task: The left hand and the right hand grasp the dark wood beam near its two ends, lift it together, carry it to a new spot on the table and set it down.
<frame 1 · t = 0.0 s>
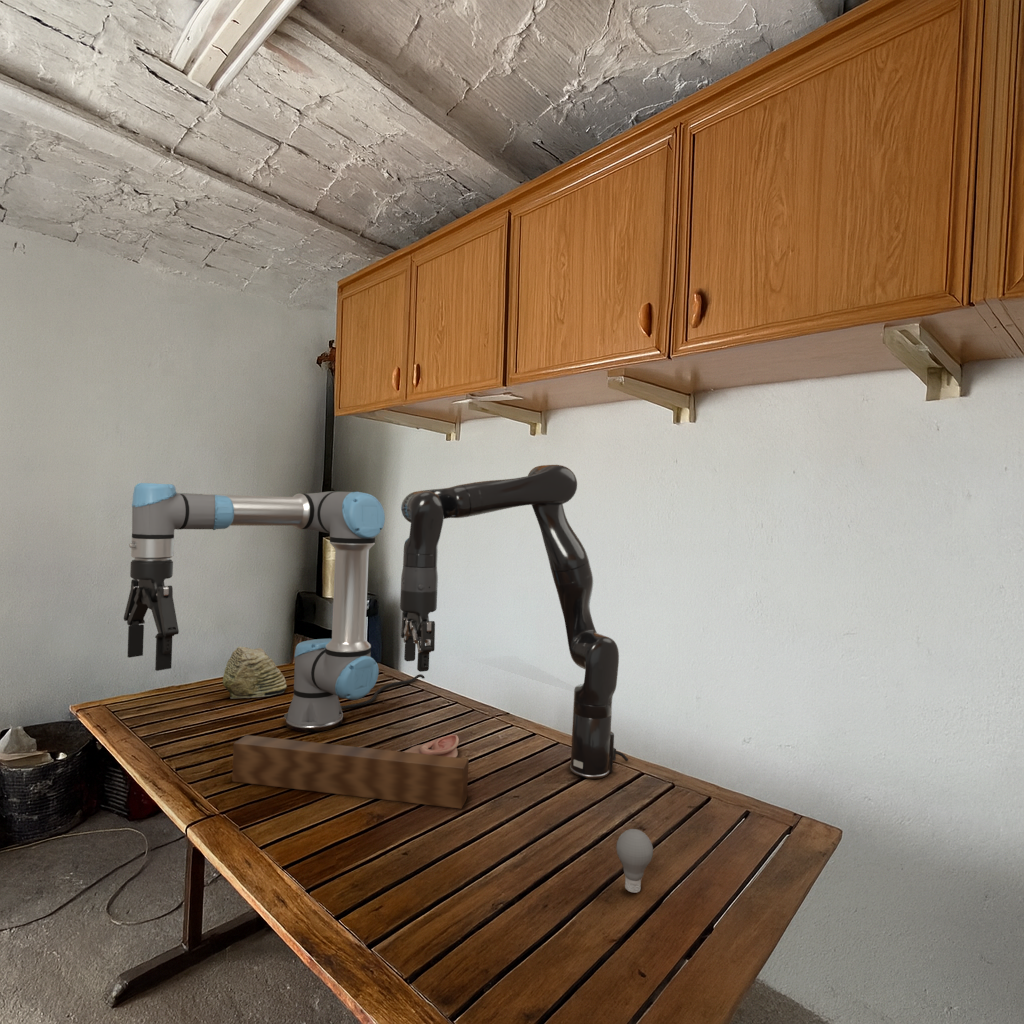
left hand: (148, 662, 129), 28 cm above the table, tool pointing down, fingers open, 13 cm apart
right hand: (416, 665, 131), 29 cm above the table, tool pointing down, fingers open, 8 cm apart
anatomical model: (430, 755, 158), on the table
light bulb: (632, 891, 106), on the table
beam: (348, 789, 138), on the table
fossil: (254, 694, 198), on the table
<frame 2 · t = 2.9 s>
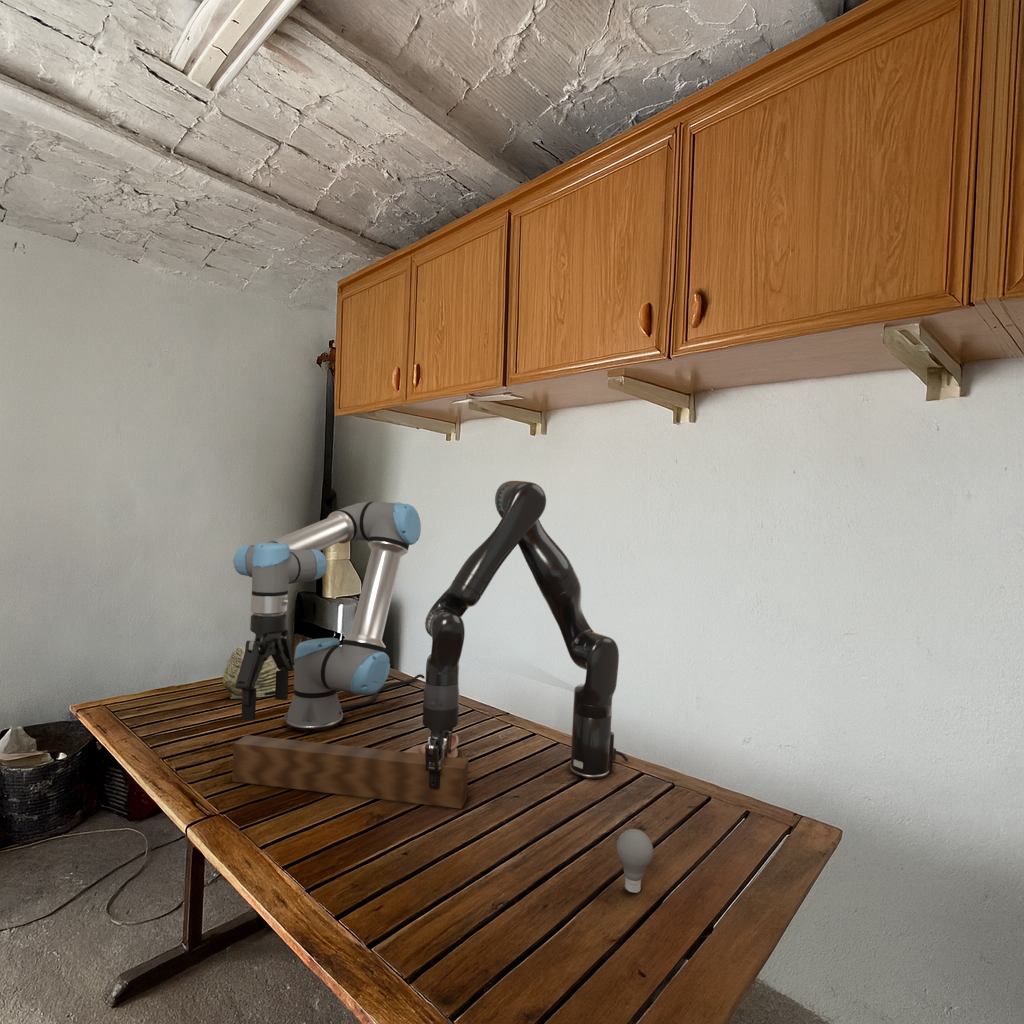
left hand: (265, 708, 140), 16 cm above the table, tool pointing down, fingers open, 13 cm apart
right hand: (437, 781, 135), 4 cm above the table, tool pointing down, fingers closed on beam, 5 cm apart
beam: (348, 789, 138), on the table, touching right hand
everything else where it was.
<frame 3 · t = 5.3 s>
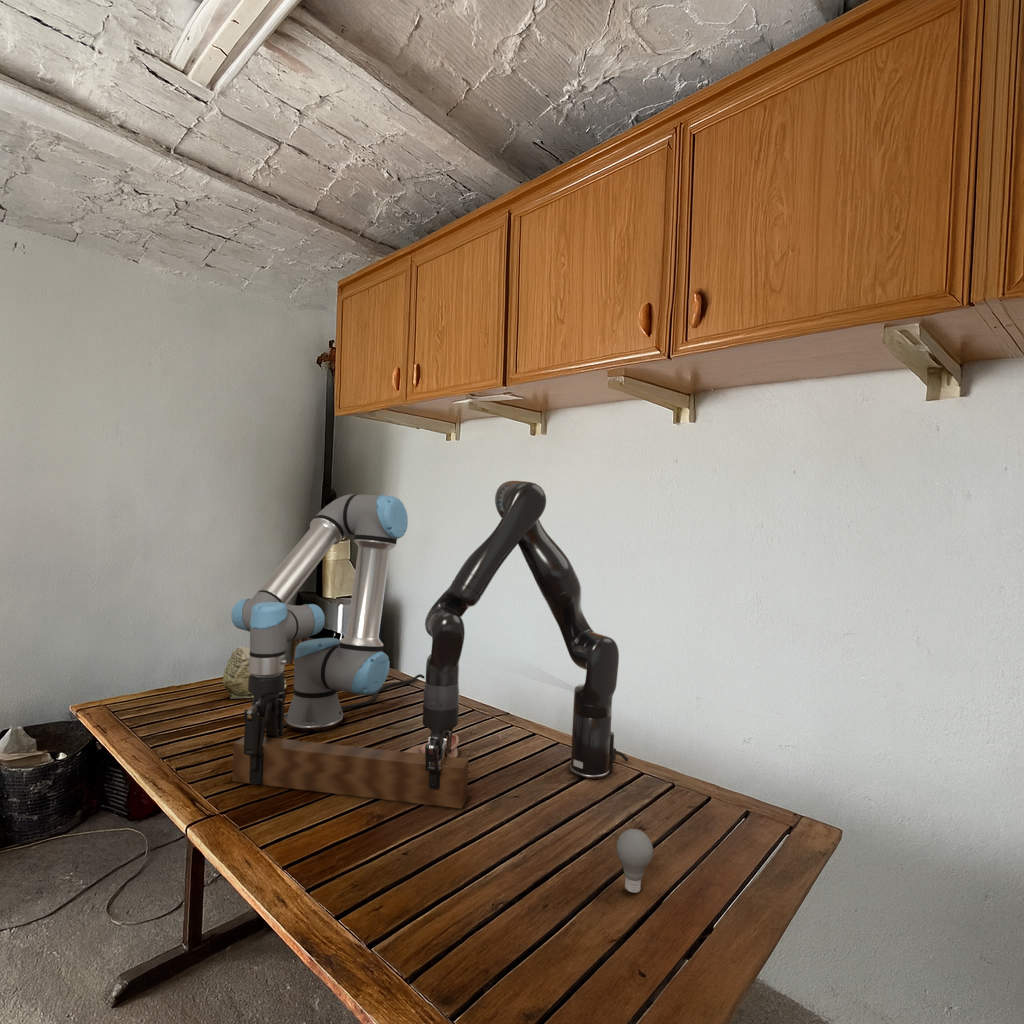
left hand: (263, 777, 141), 1 cm above the table, tool pointing down, fingers closed on beam, 5 cm apart
right hand: (437, 781, 135), 4 cm above the table, tool pointing down, fingers closed on beam, 5 cm apart
beam: (348, 789, 138), on the table, touching left hand, right hand
everything else where it was.
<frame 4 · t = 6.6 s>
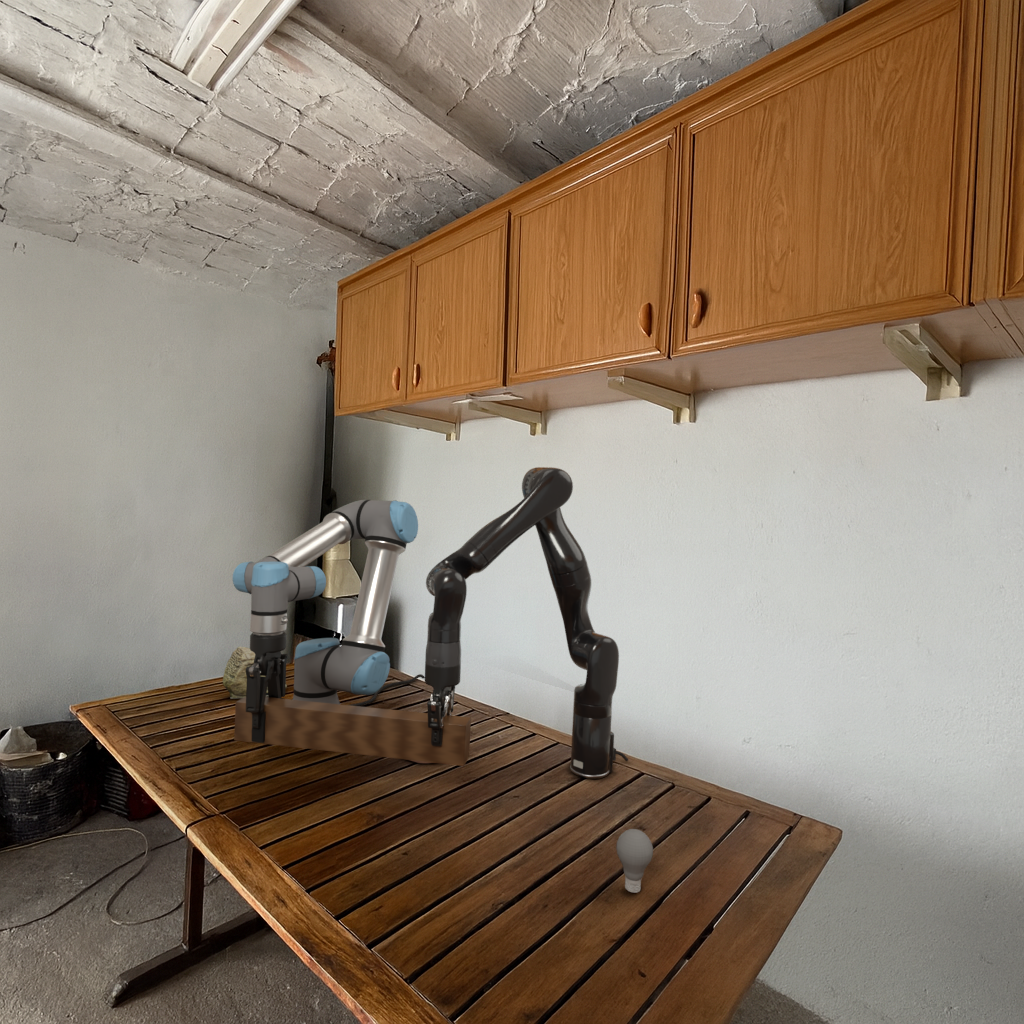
left hand: (265, 736, 140), 10 cm above the table, tool pointing down, fingers closed on beam, 5 cm apart
right hand: (440, 739, 134), 13 cm above the table, tool pointing down, fingers closed on beam, 5 cm apart
beam: (350, 748, 137), point 9 cm above the table, touching left hand, right hand
everything else where it was.
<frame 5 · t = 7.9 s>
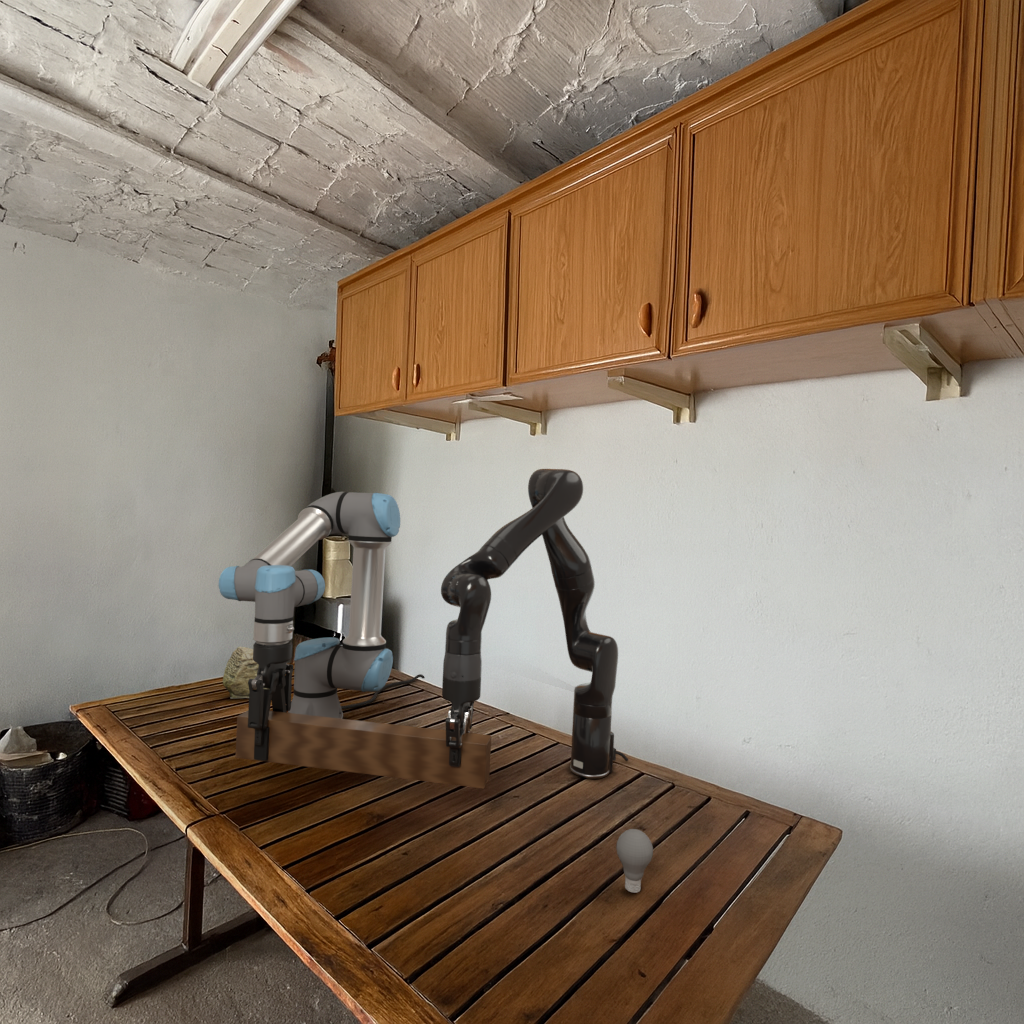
left hand: (268, 753, 130), 10 cm above the table, tool pointing down, fingers closed on beam, 5 cm apart
right hand: (458, 759, 124), 13 cm above the table, tool pointing down, fingers closed on beam, 5 cm apart
beam: (360, 767, 127), point 9 cm above the table, touching left hand, right hand
everything else where it was.
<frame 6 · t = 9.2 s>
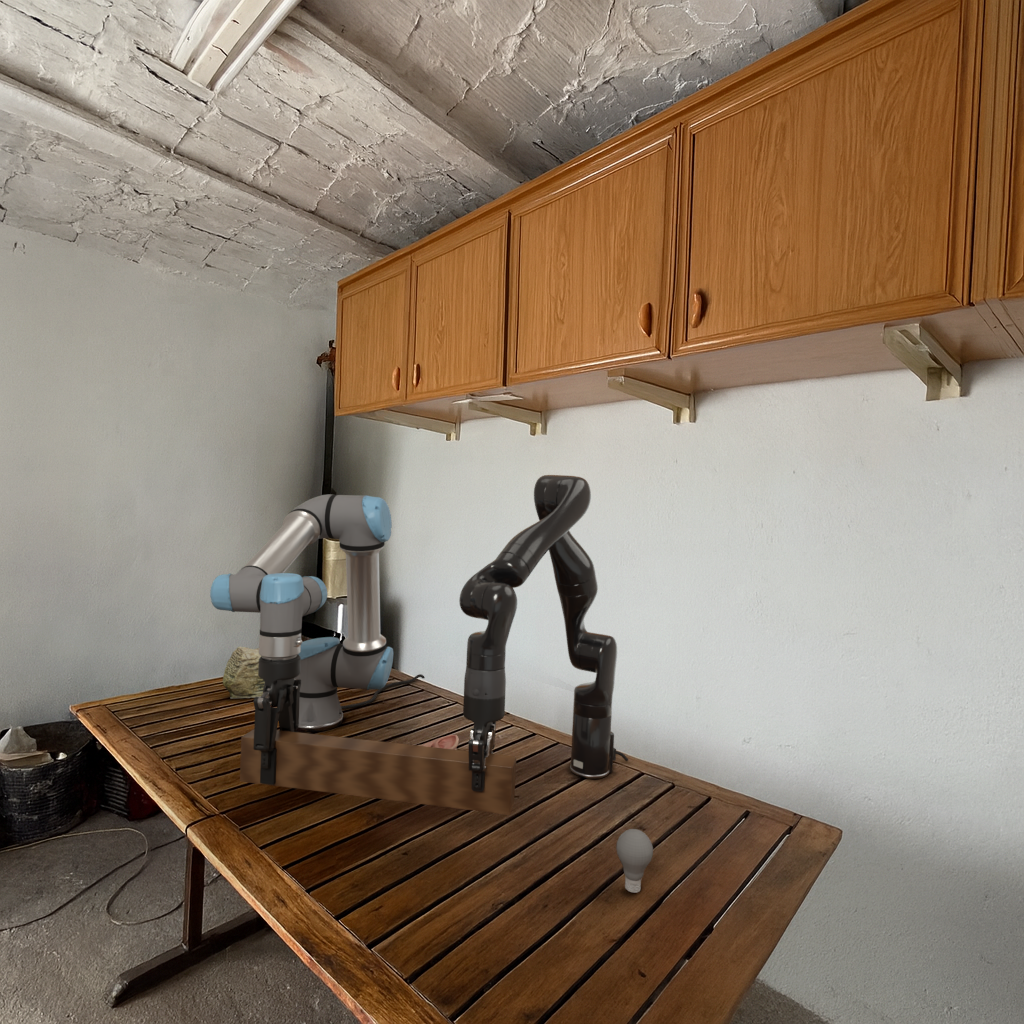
left hand: (275, 776, 121), 10 cm above the table, tool pointing down, fingers closed on beam, 5 cm apart
right hand: (481, 783, 115), 13 cm above the table, tool pointing down, fingers closed on beam, 5 cm apart
beam: (375, 791, 118), point 9 cm above the table, touching left hand, right hand
everything else where it was.
when the left hand's fingers open (2 cm above the table, at t = 10.4 s): beam stays where it is, on the table.
when the right hand's fingers open (5 cm above the table, at t = 10.6 s): beam stays where it is, on the table.
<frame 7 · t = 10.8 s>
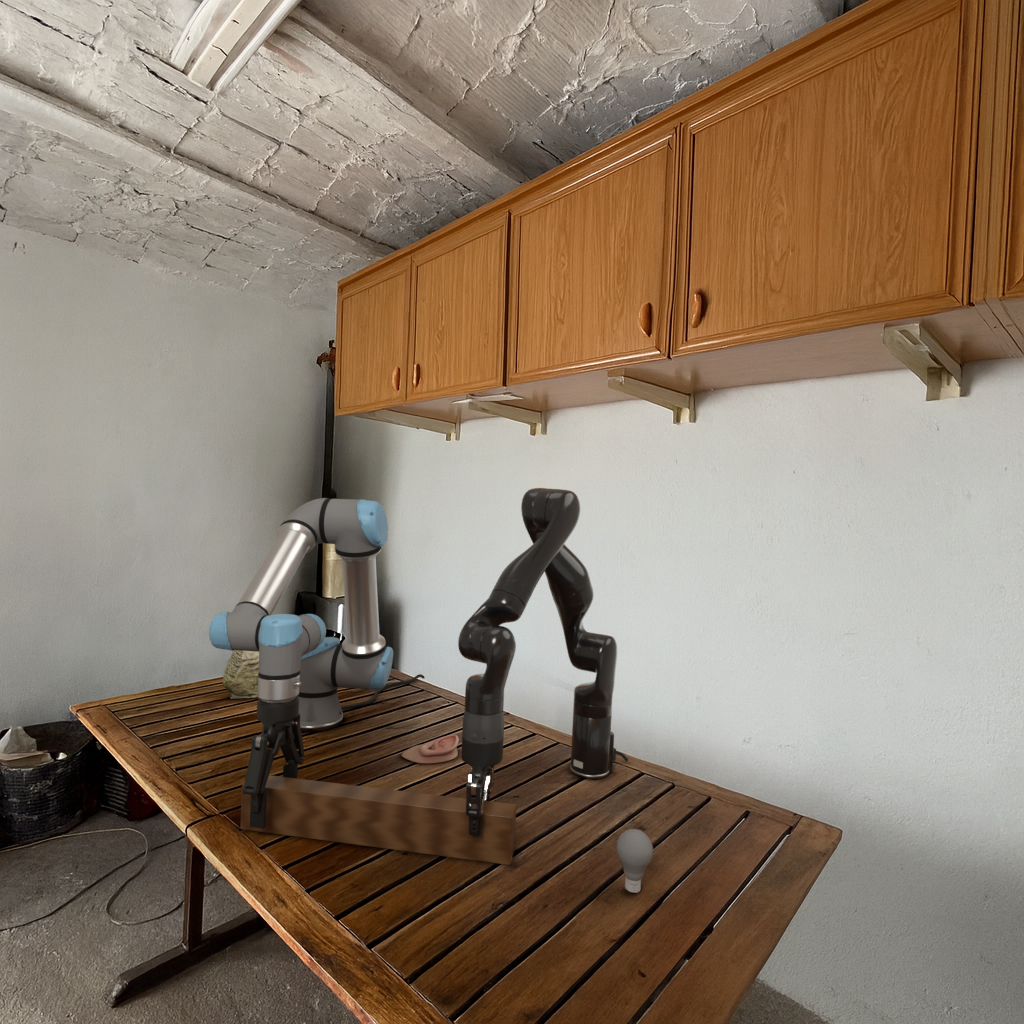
left hand: (274, 811, 121), 3 cm above the table, tool pointing down, fingers open, 11 cm apart
right hand: (479, 824, 115), 5 cm above the table, tool pointing down, fingers open, 6 cm apart
beam: (375, 839, 118), on the table
everything else where it was.
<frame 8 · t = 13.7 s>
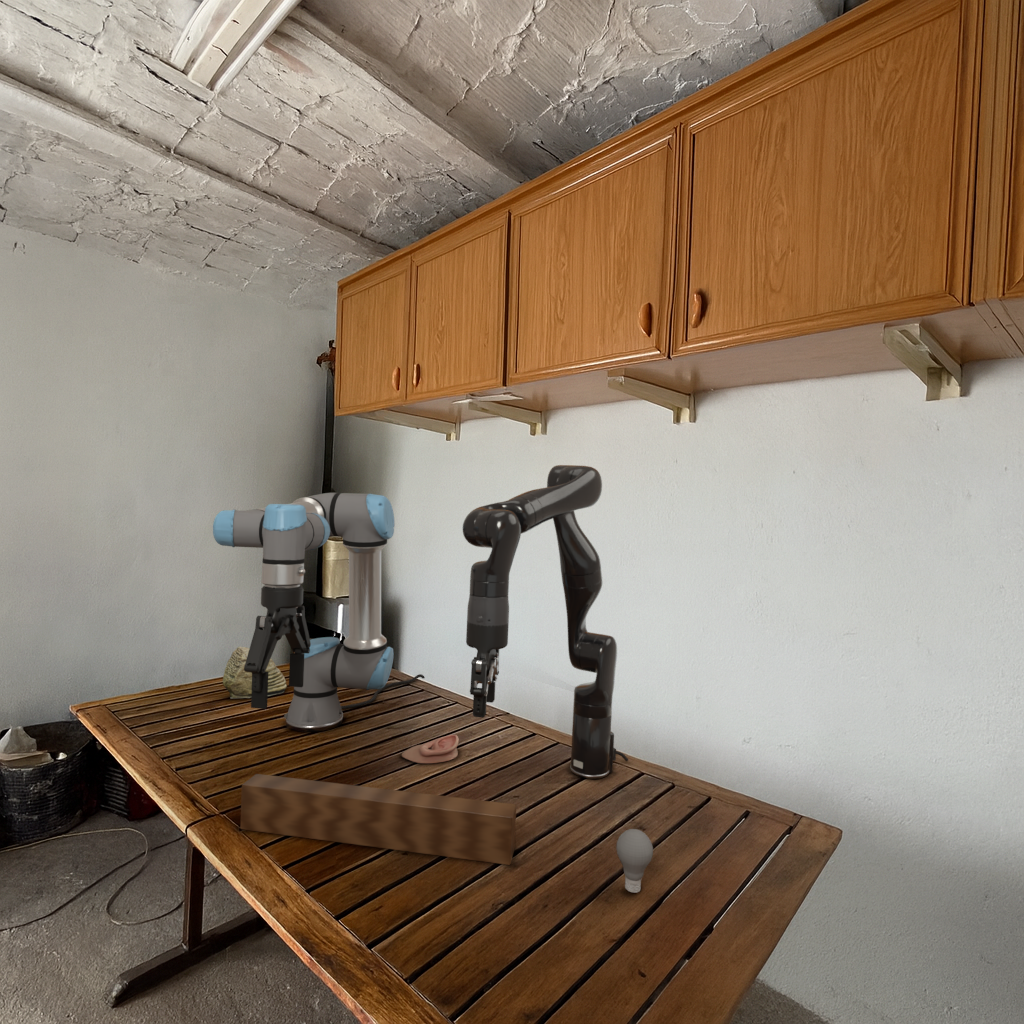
left hand: (278, 696, 120), 25 cm above the table, tool pointing down, fingers open, 13 cm apart
right hand: (484, 708, 114), 26 cm above the table, tool pointing down, fingers open, 8 cm apart
nothing on the table moved.
at the end: beam inside the target area (0.6 cm from its centre), on the table; beam tilted 0°; beam never tilted more than 2° during the clip; both hands held the beam at the same time; the left hand is holding nothing; the right hand is holding nothing; beam at rest at the end (0.0 cm/s) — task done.
